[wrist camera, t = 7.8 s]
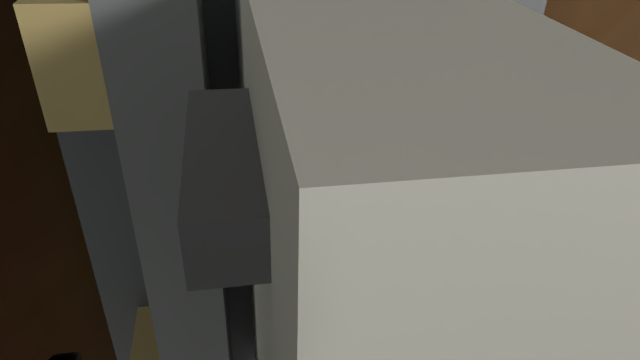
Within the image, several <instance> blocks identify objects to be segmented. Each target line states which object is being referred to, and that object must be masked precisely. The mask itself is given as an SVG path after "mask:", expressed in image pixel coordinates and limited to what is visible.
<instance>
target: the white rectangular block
mask: <svg viewBox="0 0 640 360" xmlns="http://www.w3.org/2000/svg"><path fill="white" fill-rule="evenodd" d="M235 13H236V31H237V49H238V68H239V86H240V89H215V90H189V93H188V105H187V117H186V128H185V140H184V151H183V163H182V175H181V186H180V198H179V210H178V221H177V226H178V233H179V240H180V246H181V253H182V260H183V267H184V274H185V281H186V288H187V292H189V291H198V290H208V289H218V288H228V287H237V286H247V285H250V287H251V306H252V324H253V342H254V357H255V360H640V62H639V61H637V60H635V59H633V58H631V57H629V56H626V55H624V54H622V53H620V52H618V51H616V50H614V49H612V48H610V47H608V46H606V45H604V44H602V43H600V42H598V41H596V40H594V39H591V38H589V37H587V36H585V35H583V34H581V33H579V32H577V31H575V30H573V29H571V28H569V27H567V26H565V25H563V24H561V23H559V22H556V21H554V20H552V19H550V18H548V17H546V16H544V15H542V14H540V13H538V12H536V11H534V10H532V9H530V8H528V7H526V6H524V5H521V4H519V3H517V2H515V1H513V0H235Z"/></svg>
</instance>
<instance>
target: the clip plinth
mask: <svg viewBox="0 0 640 360" xmlns="http://www.w3.org/2000/svg"><path fill="white" fill-rule="evenodd" d="M513 1H515V2H517V3H519V4H521V5H524V6H526V7H528V8H530V9H532V10H534V11H536V12H538V13H540V14H542V15H543V14H544V10H545V6H546V3H547V0H513ZM13 7H14V10H15V14H16V18H17V21H18V25H19V28H20V32H21V36H22V39H23V43H24V47H25V50H26V54H27V57H28V61H29V65H30V68H31V72H32V75H33V79H34V83H35V86H36V90H37V94H38V97H39V101H40V104H41V108H42V112H43V115H44V119H45V123H46V126H47V130H48V133H50V132H56V133H57V137H58V141H59V145H60V148H61V152H62V156H63V160H64V163H65V167H66V171H67V174H68V178H69V182H70V186H71V189H72V193H73V197H74V201H75V204H76V208H77V212H78V216H79V219H80V223H81V227H82V231H83V234H84V238H85V242H86V246H87V249H88V253H89V257H90V261H91V264H92V268H93V272H94V276H95V279H96V283H97V287H98V291H99V294H100V298H101V302H102V305H103V309H104V313H105V317H106V320H107V324H108V328H109V332H110V335H111V339H112V343H113V347H114V350H115V354H116V358H117V360H255V357H254V342H253V324H252V306H251V287H250V285H247V286H237V287H228V288H218V289H208V290H198V291H189V292H187V288H186V281H185V274H184V267H183V260H182V253H181V246H180V240H179V233H178V226H177V221H178V210H179V198H180V186H181V175H182V163H183V151H184V140H185V128H186V117H187V105H188V93H189V90H215V89H240V86H239V68H238V49H237V31H236V13H235V0H17V1H16V2H15V3H13Z"/></svg>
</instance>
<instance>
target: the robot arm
mask: <svg viewBox="0 0 640 360" xmlns="http://www.w3.org/2000/svg"><path fill="white" fill-rule="evenodd" d="M48 360H83V359H82V357H81V355H80V354H79V353H77V352H72V353H63V354H56V355H53V356H52V357H50V358H49V359H48Z"/></svg>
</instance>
